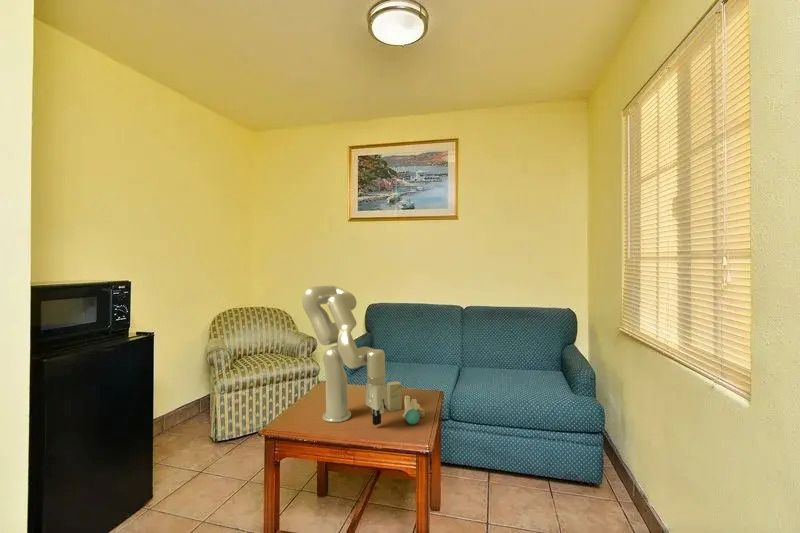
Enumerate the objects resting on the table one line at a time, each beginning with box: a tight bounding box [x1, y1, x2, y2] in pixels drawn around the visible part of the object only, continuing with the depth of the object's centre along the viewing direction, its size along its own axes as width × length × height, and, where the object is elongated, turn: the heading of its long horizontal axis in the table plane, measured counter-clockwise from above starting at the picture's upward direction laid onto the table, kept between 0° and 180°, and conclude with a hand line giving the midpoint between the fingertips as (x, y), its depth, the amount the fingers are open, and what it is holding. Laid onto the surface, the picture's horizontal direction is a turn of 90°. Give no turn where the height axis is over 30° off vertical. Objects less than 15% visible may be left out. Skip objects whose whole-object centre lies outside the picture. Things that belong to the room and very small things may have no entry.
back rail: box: [410, 402, 426, 418], centre depth 169 cm, size 12×2×3 cm, turn 34°
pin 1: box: [404, 395, 411, 413], centre depth 166 cm, size 2×2×8 cm
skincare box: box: [386, 380, 403, 412], centre depth 175 cm, size 6×4×12 cm
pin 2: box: [410, 398, 418, 411], centre depth 162 cm, size 2×2×8 cm
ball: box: [405, 409, 421, 425], centre depth 157 cm, size 6×6×6 cm
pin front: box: [402, 402, 421, 420], centre depth 164 cm, size 2×2×8 cm
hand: (376, 423), depth 154 cm, fingers closed
